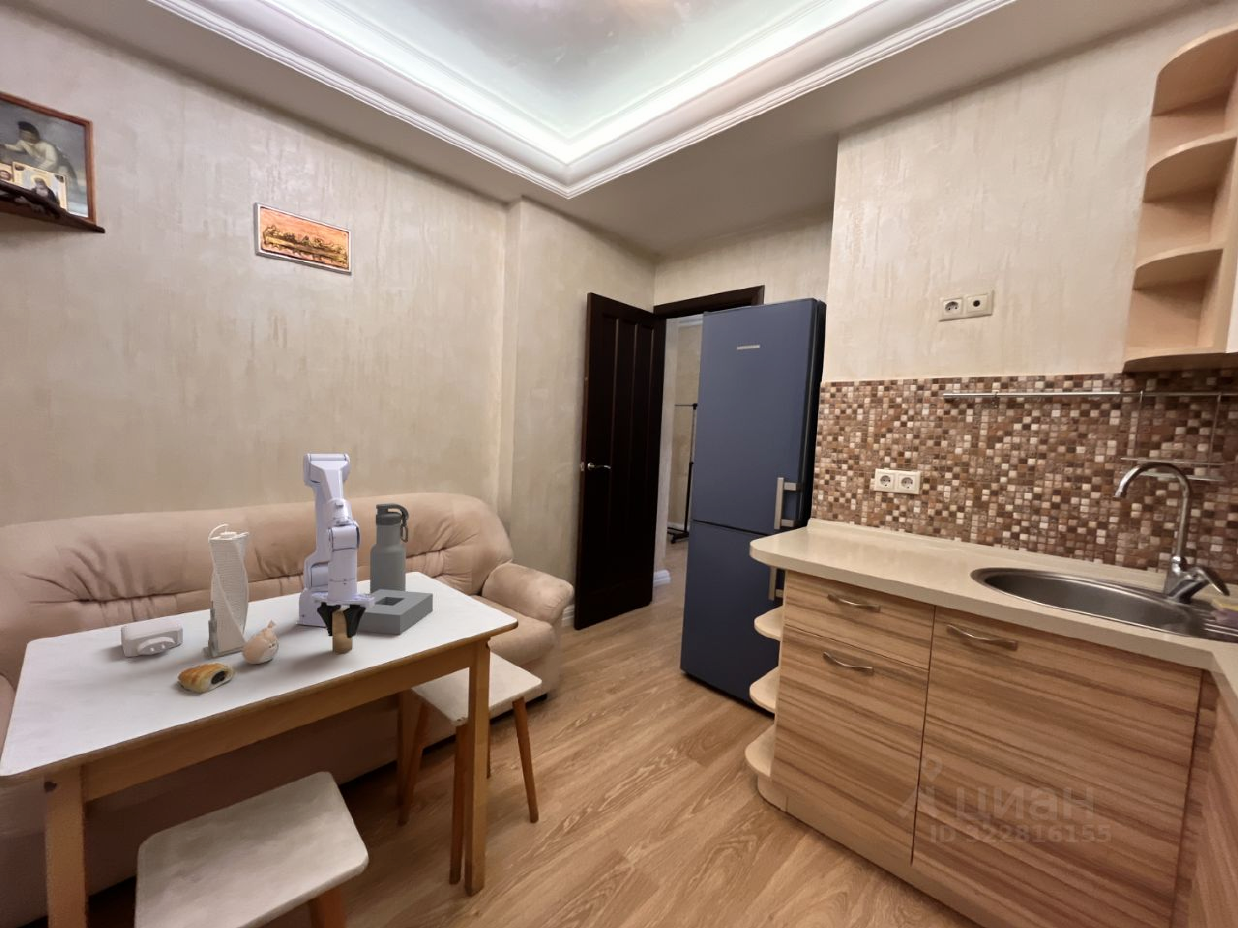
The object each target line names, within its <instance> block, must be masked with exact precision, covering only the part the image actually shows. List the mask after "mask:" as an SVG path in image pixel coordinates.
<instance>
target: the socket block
mask: <svg viewBox="0 0 1238 928" xmlns="http://www.w3.org/2000/svg"><path fill="white" fill-rule="evenodd" d="M367 596H368V597H374V598H375V606H373V607H371V608H370V609H367V608H366V610H365V611H364V613H363V615H362V617H361V619H360V622H359V625H358V628H357V632H359V631H360V632H367V633H368V632H369V633H379V634H390V635H398V636H399V635H402V634H403V633H404V632H406V631H407V630H409V629H410V628H411V627H413V626H415V624H417V623H418V622H419V621H421V620H423V618H425V617H426V616H427V615H429V614H430V613H432V612H433V610H434V607H433V606H434V605H433V602H434V599H433V597H434V593H429V592H418V591H417V592H416V591H407V590H405V591H396V590H385V589H379V590H377V591H375V592H374V593H372V594H370V593H369V594H368V595H367ZM347 608H350V606H348V605H346V607H343V609H347Z"/></svg>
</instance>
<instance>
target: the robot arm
mask: <svg viewBox="0 0 1238 928" xmlns="http://www.w3.org/2000/svg"><path fill="white" fill-rule="evenodd" d="M350 473H351V459H350V456H349V455H348V454H347V453H308V452H307V453H305V454H304V455H303V458H302V474H303V477H302V478H303V479H302V480H303V482H304V486H306V487H309V488H311V489H312V491H313V496H314V512H315V513H314V516H315V517H314V518H315V519H314V520H315V523H314V524H315V545H316V546H315V550H314V551H313V552H312V553H311V554H310V555H308V556H307V557H306V558H305V559H304V561H303V569H302V571H303V572H302V577H303V578H302V579H303V586H304V588H303V590H301V592H300V594H299V599H298V621H296V625H304V626H312V627H313V626H315V627H324V628H326V630H327V634H328V637H332V613H333V612H334V611H336V610H339V609H343V608H344V607H343V606H350V608H347V609H345V610H343V614H344V616H345V620H346V626H347V638H352V637H355V636H356V635H357V632H358V631H357V628H358V625H359V622H360V619H361V617H362V615H363V613H364V611H365V610H366V608H367V609H370V608H371V607H373V606H375V598H374V597H368V595H364V594H361V593H358V591H357V590H358V550H359V549H360V547H361V530H360V526H359V524H358V523H357V520H354V515H353V511H352V505H351V503H350V501H348V500H346V499H344V498H345V497H344V485H345V483H346V481H347V479H348V477H349V475H350ZM357 549H358V550H357Z"/></svg>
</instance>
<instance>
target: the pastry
mask: <svg viewBox="0 0 1238 928" xmlns="http://www.w3.org/2000/svg"><path fill="white" fill-rule="evenodd" d="M234 676H235V671H234V669H233V668H232V667H231V666H228V665H224V664H221V663H219V662H215V663H209V664H208V663H207V664H201V665H196V666H193V667H190V668H186V669H184V670H182V671H181V672H180V674H179V675H178V677H177V680H178V681H179V683H180V684H181V685H182V686H183V688H184V689H185V690H188V691H190V692H193V693H197V694H204V693H205V694H206V693H207V692H211V691H213V690H216V689H218V687H220V686H221V685H224V684H225V683H228V682H229V681H231V680H232V678H234Z"/></svg>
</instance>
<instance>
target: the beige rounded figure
mask: <svg viewBox="0 0 1238 928" xmlns="http://www.w3.org/2000/svg"><path fill="white" fill-rule="evenodd" d="M276 625H277V624H276V623H275V622H274V621H273V620H272V619H271V620H270V621H269V623H268V625H267V627H266V628H264V629H262V631H260V632H258V633H256V634H255V636H254V637H252V638H251V639H249V640H248V641H247V642H246V644H245V645H244V647H243V650H242V652H241V655H242V658H243V659H244V660H245V661H246V662H247V663H249V664H252V665H258V664H264V663H266V662H269V661H271V660H272V659H273V658H274V657H275V655H277V653H278V650H279V647H280V646H279V640H278V638H277V637H276V634H275V632H274V630H273V628H274V626H276Z"/></svg>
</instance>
